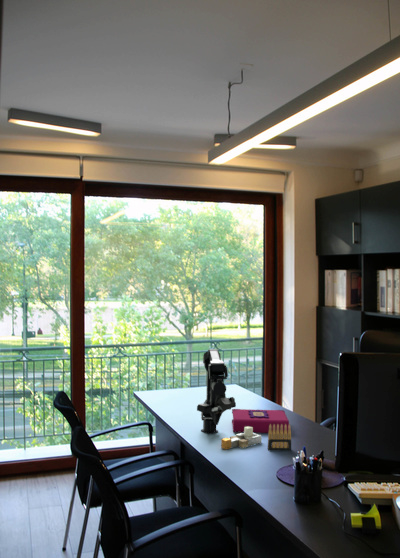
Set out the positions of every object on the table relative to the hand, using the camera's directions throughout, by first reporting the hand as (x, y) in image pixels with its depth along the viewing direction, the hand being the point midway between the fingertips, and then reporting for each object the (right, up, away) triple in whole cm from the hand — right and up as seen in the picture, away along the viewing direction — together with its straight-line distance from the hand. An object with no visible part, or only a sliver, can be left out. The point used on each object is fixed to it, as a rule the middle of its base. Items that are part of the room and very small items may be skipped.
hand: (216, 424), depth 241 cm
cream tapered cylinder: (+16, -12, +13) cm, 24 cm away
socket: (+16, -12, +13) cm, 24 cm away
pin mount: (+11, -12, +9) cm, 18 cm away
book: (+24, -12, +38) cm, 46 cm away
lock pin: (+7, -12, +6) cm, 15 cm away
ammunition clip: (+29, -13, +3) cm, 32 cm away
